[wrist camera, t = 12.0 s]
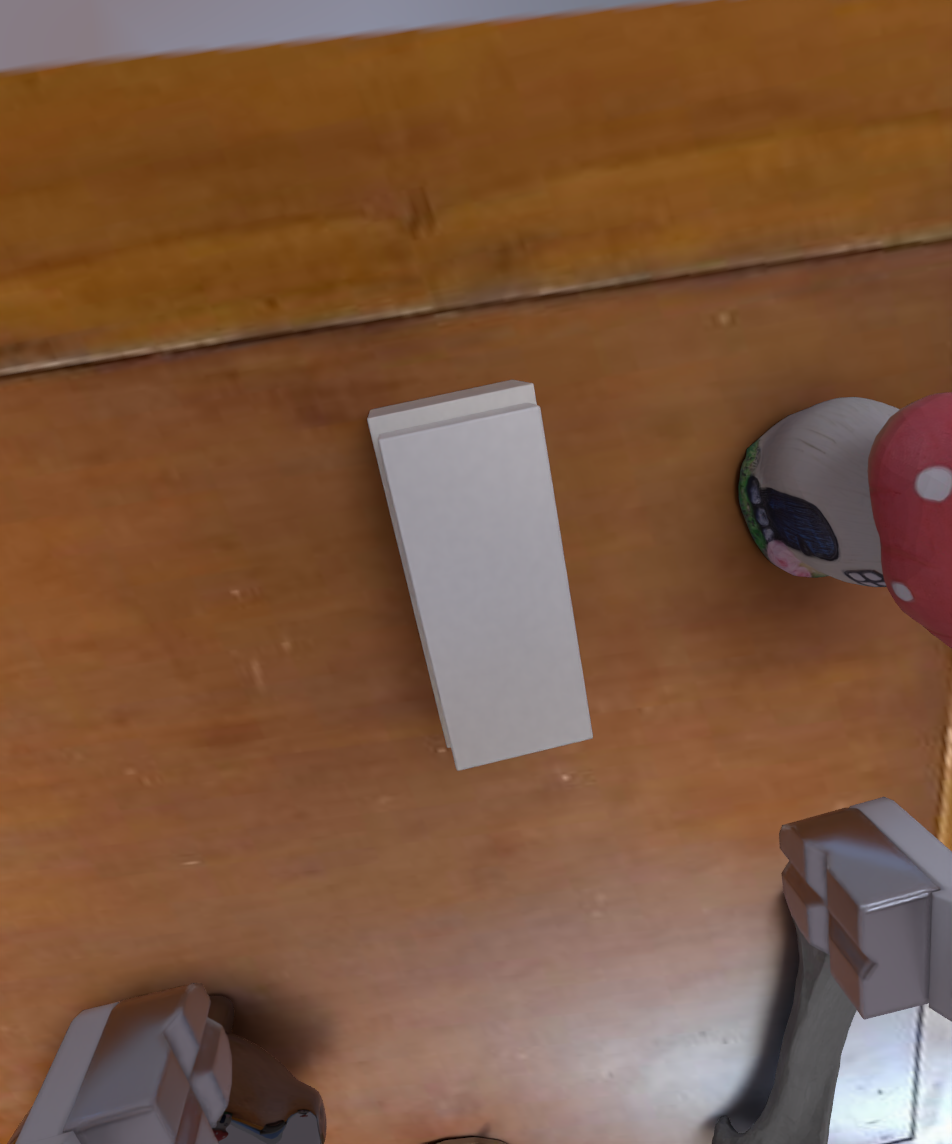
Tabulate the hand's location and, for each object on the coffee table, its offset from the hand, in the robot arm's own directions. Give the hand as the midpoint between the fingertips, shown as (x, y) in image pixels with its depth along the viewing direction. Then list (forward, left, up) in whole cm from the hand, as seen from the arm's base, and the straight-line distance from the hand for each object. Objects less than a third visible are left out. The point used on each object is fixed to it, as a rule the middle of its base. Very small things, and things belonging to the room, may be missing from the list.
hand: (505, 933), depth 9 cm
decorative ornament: (+1, +17, -22) cm, 27 cm away
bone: (+33, +14, -22) cm, 42 cm away
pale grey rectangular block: (+1, +2, -17) cm, 18 cm away
